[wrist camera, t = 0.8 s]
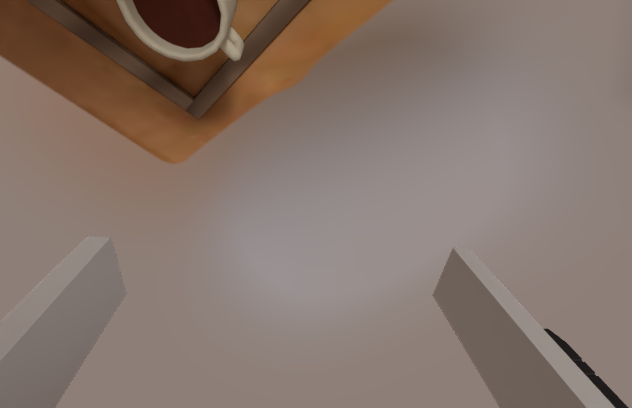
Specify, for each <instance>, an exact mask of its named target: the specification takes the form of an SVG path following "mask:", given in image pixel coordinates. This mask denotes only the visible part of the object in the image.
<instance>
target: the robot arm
mask: <svg viewBox="0 0 632 408" xmlns="http://www.w3.org/2000/svg"><path fill="white" fill-rule="evenodd" d="M126 294H127V293H126V289H125V286H124V282H123V279H122V275H121V271H120V268H119V264H118V261H117V257H116V253H115V250H114V247H113V243H112V239H111V237H96V236H95V237H94V236H87V237H86V238H85V239H84V240H83V241H82V242H81V243H80V244H79V245H78V246H76V247H75V248H74V249H73V250H72V251H71V252H70V253H69V254H68V255H67V256H66V257H65V258H64V259H63V260H62V261H61V262H60V263H59V264H58V265H57V266H56V267H55V268H54V269H53V270H52V271H51V272H50V273H49V274H48V275H47V276H46V277H45V278H44V279H43V280H42V281H41V282H40V283H39V284H38V285H37V286H36V287H35V288H34V289H33V290H32V291H31V292H30V293H29V294H28V295H27V296H25V297H24V298H23V300H21V302H20V303H18V304H17V305H16V306H15V307H14V308H13V309H12V310H11V311H10V312H9V313H8V314H7V315H6V316H5V317H4V318H3V319H2V320H1V321H0V408H55V407H56V405H57V404H58V402H59V401H60V399H61V397H62V396H63V394H64V393H65V391H66V389H67V388H68V386H69V385H70V383H71V381H72V380H73V378H74V377H75V375H76V373H77V372H78V370H79V369H80V367H81V366H82V364H83V362H84V360H85V359H86V358H87V356H88V354H89V353H90V351H91V350H92V348H93V346H94V345H95V343H96V341H97V340H98V338H99V337H100V335H101V334H102V332H103V330H104V329H105V327H106V326H107V324H108V322H109V321H110V319H111V317H112V316H113V314H114V313H115V311H116V310H117V308H118V306H119V305H120V303H121V302H122V300H123V299H124V297H125V295H126ZM433 297H434V298H435V300H436V302H437V303H438V305H439V307H440V308H441V310H442V312H443V313H444V315H445V317H446V318H447V320H448V322H449V323H450V325H451V327H452V328H453V330H454V331H455V334H456V335H457V337H458V339H459V340H460V342H461V343H462V345H463V347H464V349H465V350H466V352H467V354H468V355H469V357H470V359H471V360H472V362H473V364H474V365H475V367H476V369H477V370H478V372H479V373H480V375H481V377H482V379H483V380H484V382H485V384H486V385H487V387H488V389H489V390H490V392H491V394H492V396H493V397H494V399H495V400H496V402H497V404H498V406H499V407H500V408H628V407H627V406H626V405H625V404H624V403H623V402H622V401H621V400H620V399H619V397H618V396H617V395H616V394H615V393H614V392H613V391H612V390H611V389H610V388H609V387H608V386H607V385H606V384H605V383H604V382H603V381H602V380H601V378H599V376H596V375H595V372H594V371H593V370H592V369H591V368H590V367H589V366H588V365H587V364H586V363H585V362H582V359H581V357H580V356H579V355H578V354H577V353H576V352H575V351H574V350H573V349H572V348H571V347H570V346H569V345H568V344H567V343H566V342H565V341H563V340H562V339H561V338H560V337H558V336H557V335H555V334H554V333H553V332H552V331H550V330H549V329H543V328H542V327H541V326H540V325H539V324H538V323H537V322H536V321H535V319H534V318H533V317H532V316H531V315H530V314H529V313H528V312H527V311H526V309H525V308H524V307H523V306H522V305H521V304H520V303H519V302H518V301H517V300H516V299H515V297H514V296H513V295H512V294H511V293H510V292H509V291H508V290H507V289H506V288H505V286H503V284H502V283H501V282H500V281H499V280H498V279H497V278H496V277H495V276H494V274H493V273H492V272H491V271H490V270H489V269H488V268H487V267H486V266H485V265H484V264H483V262H482V261H481V260H480V259H479V258H478V257H477V256H476V255H475V254H474V253H473V252H472V250H471V249H469V248H453V249H452V251H451V254H450V256H449V258H448V260H447V263H446V265H445V267H444V270H443V272H442V275H441V277H440V279H439V282H438V284H437V286H436V289H435V291H434V293H433Z"/></svg>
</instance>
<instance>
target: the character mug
mask: <svg viewBox="0 0 632 408" xmlns="http://www.w3.org/2000/svg"><path fill="white" fill-rule="evenodd" d="M116 1H117V3H118V6H119V8H120V10H121V12H122V14H123V17H124V19H125V21H126V22H127V24H128V25H129V26H130V28H131V29H132V30H133V32H134V33H135V34H136V36H137V37H138V38H139V39H140V40H141V41H142V42H143V43H144V44H146V45H147V46H148V47H150V48H151V49H153V50H154V51H156V52H158V53H160V54H162V55H163V56H165V57H168V58H172V59H176V60H180V61H184V62H186V61H197V60H203V59H205V58H207V57H208V56H210V55H212V54H214V53H215V52H217V50H218V49H219V47H220V48H221V49H222V50H223V51H224V52H225V54H226V55H227V56H229V57H230V58H231V59H232V60H233V61H237V60H240V58H241V55H242V52H243V48H244V42H243V40H242V39H241V37H240V36H239V35H238V34H237V33H236V31H235V30H234V29H233V28H232V27H231V26H230V25H231V22H232V20H233V17H234V14H235V11H236V3H237V0H116Z"/></svg>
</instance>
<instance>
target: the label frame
mask: <svg viewBox="0 0 632 408" xmlns="http://www.w3.org/2000/svg"><path fill="white" fill-rule="evenodd" d="M27 1H28V2H29V3H31V4H32V5H34V6H35V7H37V8H38V9H40V10H41V11H43V12H44V13H45V14H47V15H48V16H50V17H51V18H53V19H54V20H56V21H57V22H58V23H60V24H61V25H63V26H64V27H66V28H67V29H69V30H70V31H71V32H73V33H74V34H76V35H77V36H79V37H80V38H82V39H83V40H85V41H86V42H87V43H89V44H90V45H92V46H93V47H95V48H96V49H98V50H99V51H100V52H102V53H103V54H105V55H106V56H108V57H109V58H111V59H112V60H113V61H115V62H116V63H118V64H119V65H121V66H122V67H124V68H125V69H127V70H128V71H129V72H131V73H132V74H134V75H135V76H137V77H138V78H140V79H141V80H142V81H144V82H145V83H147V84H148V85H150V86H151V87H153V88H154V89H155V90H157V91H158V92H160V93H161V94H163V95H164V96H166V97H167V98H169V99H170V100H171V101H173V102H174V103H176V104H177V105H179V106H180V107H182V108H183V109H184V110H186V111H187V112H189V113H190V114H192V115H193V116H195V117H196V118H198V119H200V118H201V117H202V116H203V114H204V113H205V112H206V111H207V110H208V109H209V108H210V107H211V106H212V105H213V104H214V102H215V101H216V100H217V99H218V98H219V97H220V96H221V95H222V94H223V93H224V92H225V91H226V89H227V88H228V87H229V86H230V85H231V84H232V83H233V82H234V81H235V80H236V79H237V78H238V76H239V75H240V74H241V73H242V72H243V71H244V70H245V69H246V68H247V67H248V66H249V64H250V63H251V62H252V61H253V60H254V59H255V58H256V57H257V56H258V55H259V54H260V53H261V51H262V50H263V49H264V48H265V47H266V46H267V45H268V44H269V43H270V42H271V41H272V40H273V38H274V37H275V36H276V35H277V34H278V33H279V32H280V31H281V30H282V29H283V28H284V26H285V25H286V24H287V23H288V22H289V21H290V20H291V19H292V18H293V17H294V16H295V15H296V13H297V12H298V11H299V10H300V9H301V8H302V7H303V6H304V5H305V4H306V3H307V2H308V0H278V1H277V2H276V4H275V5H274V6H273V7H272V8H271V9H270V11H269V12H268V13H267V14H266V15H265V16H264V18H263V19H262V20H261V21H260V22H259V23H258V25H257V26H256V27H255V28H254V29H253V30H252V32H251V33H250V34H249V35H248V36H247V37H246V39H245V40H244V41H243V42H244V48H243V52H242V55H241V58H240V60H237V61H233V60H232V59H231V58H230V57H229V58H228V60H227V61H226V62H225V63H224V64H223V65H222V67H221V68H220V69H219V70H218V71H217V72H216V74H215V75H214V76H213V77H212V78H211V79H210V81H209V82H208V83H207V84H206V85H205V86H204V88H203V89H202V90H201V91H200V92H199V93H198V95H197V96H196V97H195V98H193V97H192V96H191V95H189V94H188V93H187V92H185V91H184V90H182V89H181V88H180V87H178V86H177V85H176V84H174V83H173V82H171V81H170V80H169V79H167V78H166V77H165V76H163V75H162V74H161V73H159V72H158V71H156V70H155V69H154V68H152V67H151V66H150V65H148V64H147V63H146V62H144V61H143V60H141V59H140V58H139V57H137V56H136V55H135V54H133V53H132V52H131V51H129V50H128V49H126V48H125V47H124V46H122V45H121V44H120V43H118V42H117V41H115V40H114V39H113V38H111V37H110V36H109V35H107V34H106V33H105V32H103V31H102V30H100V29H99V28H98V27H96V26H95V25H94V24H92V23H91V22H90V21H88V20H87V19H85V18H84V17H83V16H81V15H80V14H79V13H77V12H76V11H75V10H73V9H72V8H70V7H69V6H68V5H66V4H65V3H64V2H62V1H61V0H27Z"/></svg>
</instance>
